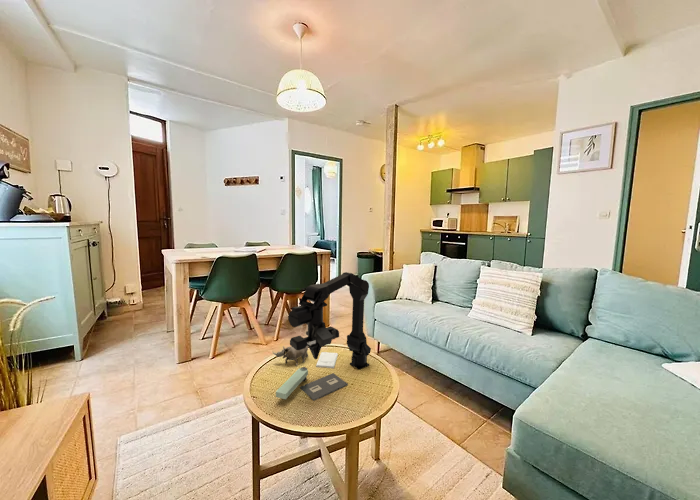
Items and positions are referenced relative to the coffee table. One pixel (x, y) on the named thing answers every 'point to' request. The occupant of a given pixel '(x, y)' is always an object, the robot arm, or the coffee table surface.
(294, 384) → the swing arm
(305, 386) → the label panel
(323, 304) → the robot arm
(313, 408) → the coffee table surface
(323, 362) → the external hard drive
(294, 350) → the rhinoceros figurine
